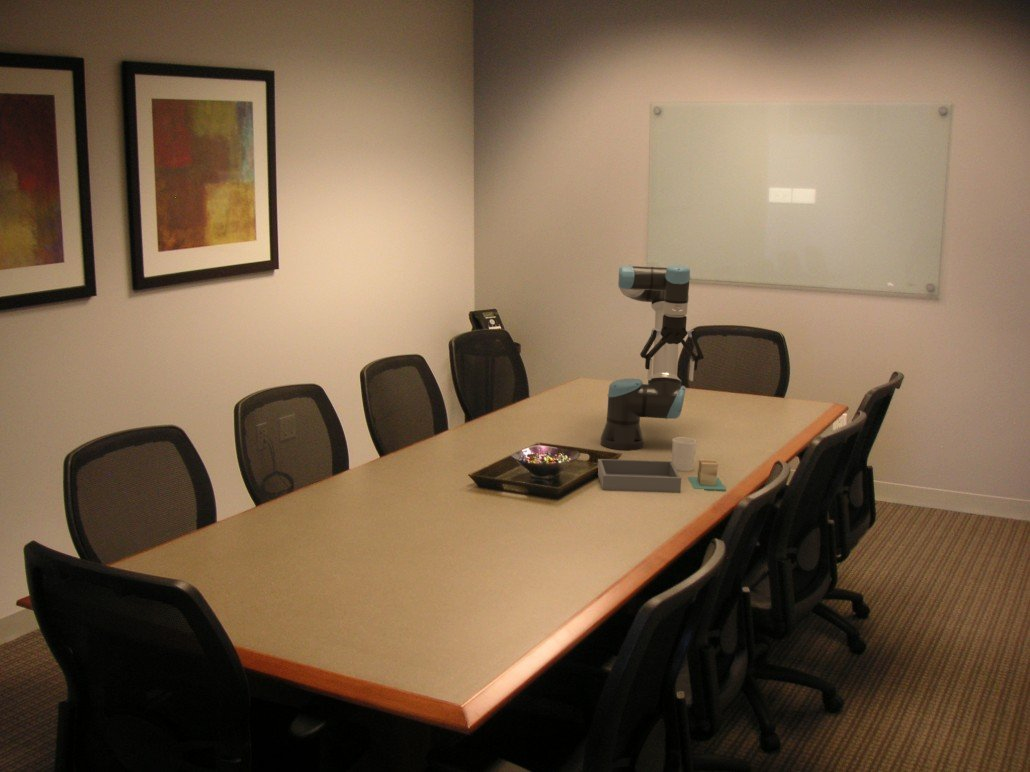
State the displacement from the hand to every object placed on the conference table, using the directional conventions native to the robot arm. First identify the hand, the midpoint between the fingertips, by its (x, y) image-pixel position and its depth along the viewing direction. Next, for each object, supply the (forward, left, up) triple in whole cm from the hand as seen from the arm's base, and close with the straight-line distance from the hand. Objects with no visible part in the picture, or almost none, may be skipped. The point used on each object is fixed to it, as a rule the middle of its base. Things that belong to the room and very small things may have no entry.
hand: (670, 379), depth 355 cm
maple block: (+14, +11, -30) cm, 35 cm away
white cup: (-2, +6, -31) cm, 32 cm away
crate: (+15, -11, -31) cm, 36 cm away
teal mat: (+14, +11, -31) cm, 36 cm away
